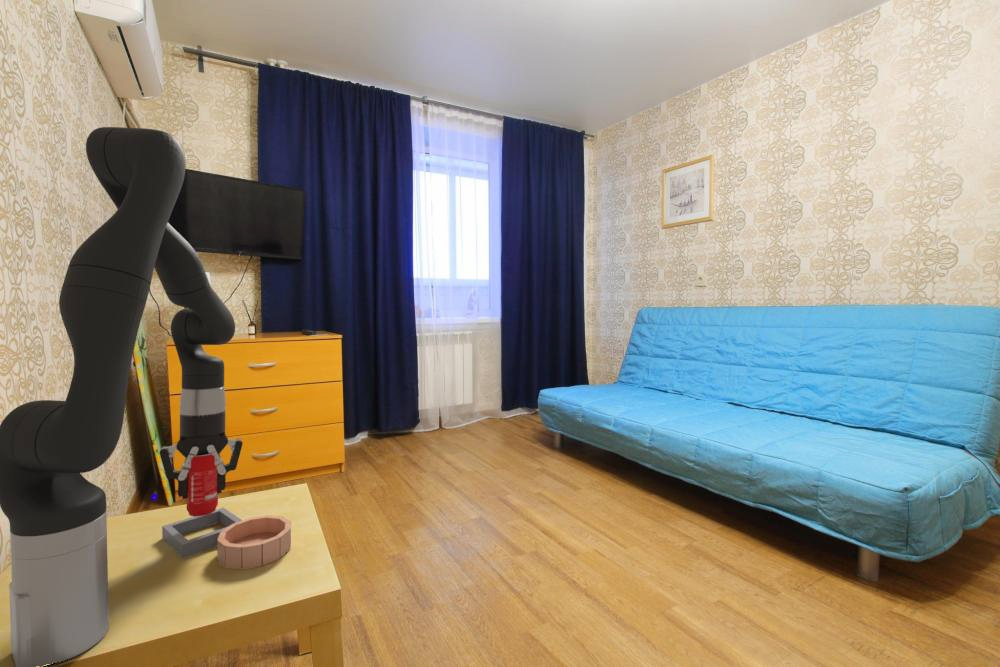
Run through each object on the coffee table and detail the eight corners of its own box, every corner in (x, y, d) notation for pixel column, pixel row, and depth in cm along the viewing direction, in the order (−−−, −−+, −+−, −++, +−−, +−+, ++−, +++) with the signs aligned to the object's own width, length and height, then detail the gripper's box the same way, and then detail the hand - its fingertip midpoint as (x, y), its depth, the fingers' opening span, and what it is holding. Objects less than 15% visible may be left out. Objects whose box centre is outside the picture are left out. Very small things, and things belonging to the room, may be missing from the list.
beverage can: (192, 519, 85) (193, 457, 85) (182, 512, 88) (182, 452, 88) (222, 511, 89) (222, 451, 89) (211, 504, 92) (212, 446, 92)
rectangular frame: (182, 558, 82) (182, 544, 82) (162, 538, 88) (162, 526, 88) (246, 534, 90) (246, 523, 90) (223, 518, 97) (223, 507, 97)
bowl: (235, 577, 76) (235, 554, 76) (207, 553, 84) (207, 532, 83) (302, 548, 86) (302, 528, 86) (272, 528, 93) (272, 510, 93)
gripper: (155, 417, 81) (155, 509, 81) (246, 410, 89) (245, 494, 89) (159, 409, 87) (158, 495, 88) (243, 403, 95) (242, 482, 96)
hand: (202, 494), depth 89 cm, fingers closed on beverage can, 5 cm apart
